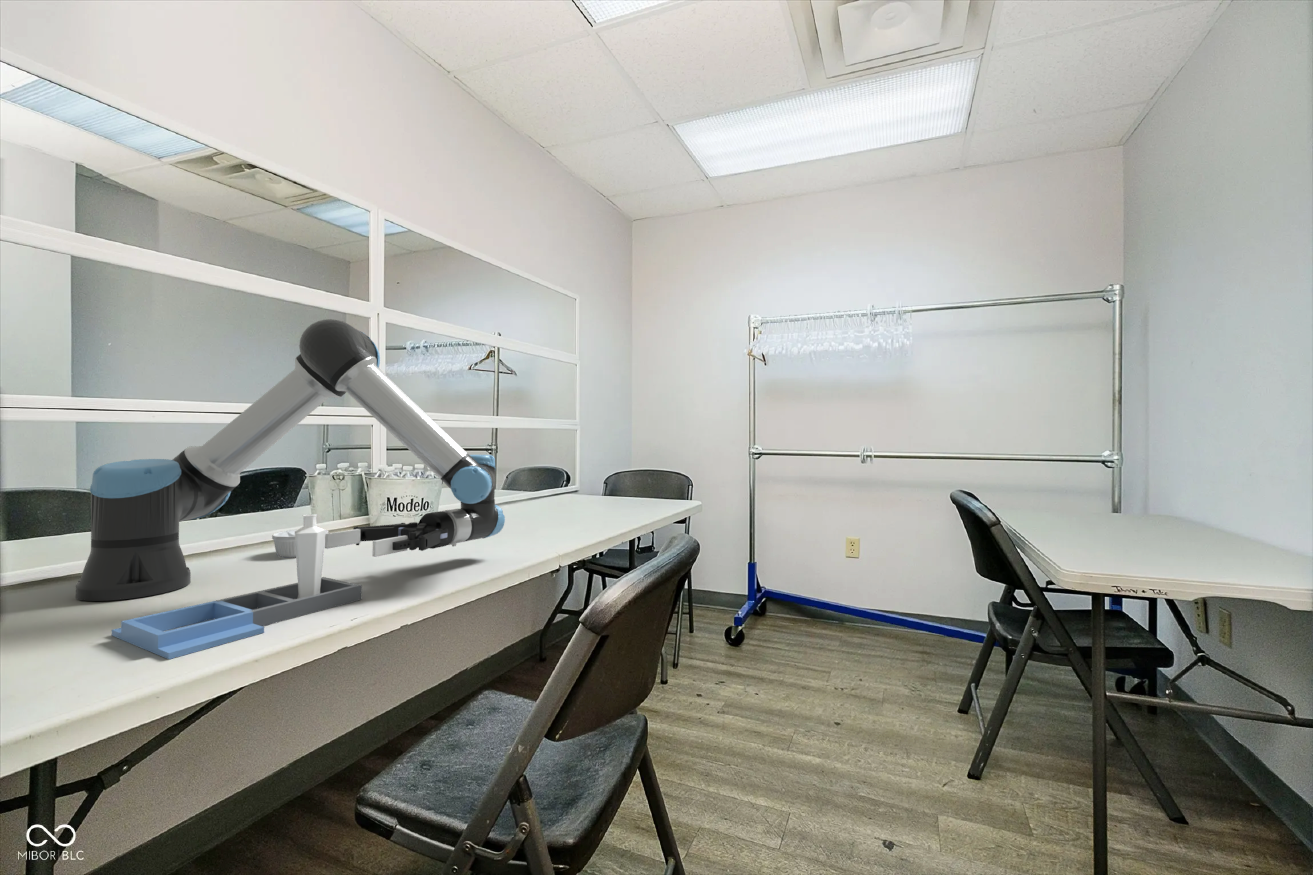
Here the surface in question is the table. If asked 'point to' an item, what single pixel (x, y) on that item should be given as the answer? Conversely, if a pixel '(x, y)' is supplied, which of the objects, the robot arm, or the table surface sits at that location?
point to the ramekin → (286, 543)
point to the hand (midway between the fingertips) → (349, 544)
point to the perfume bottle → (309, 556)
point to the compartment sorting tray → (229, 618)
